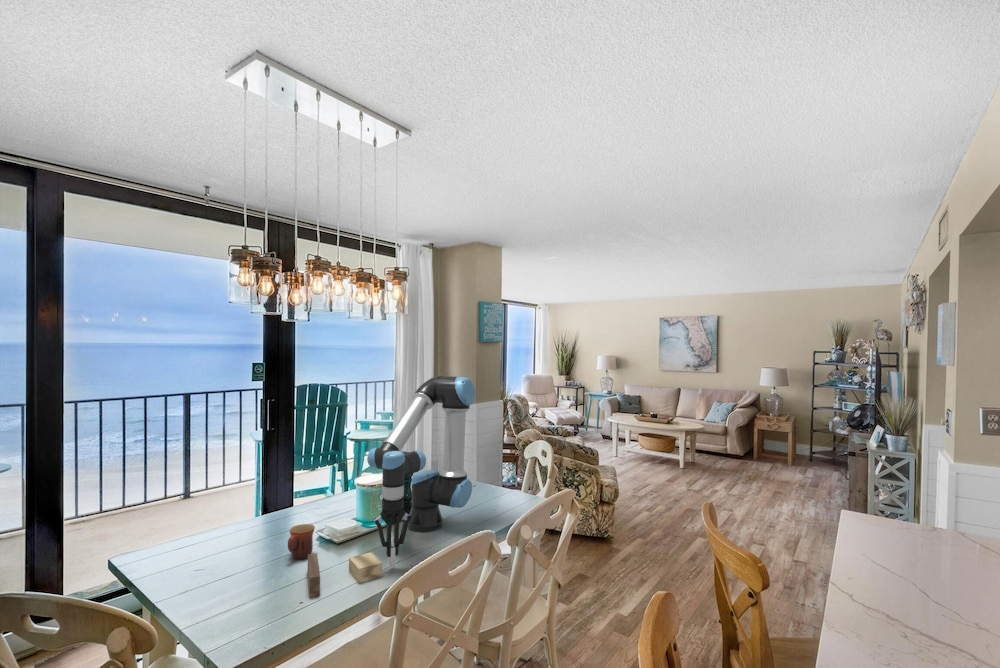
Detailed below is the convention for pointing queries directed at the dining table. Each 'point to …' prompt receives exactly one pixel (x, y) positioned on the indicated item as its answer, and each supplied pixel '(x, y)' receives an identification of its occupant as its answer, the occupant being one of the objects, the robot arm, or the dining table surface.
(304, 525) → the mug
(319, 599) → the dining table surface
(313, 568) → the wooden block
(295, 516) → the dining table surface
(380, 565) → the oak block
